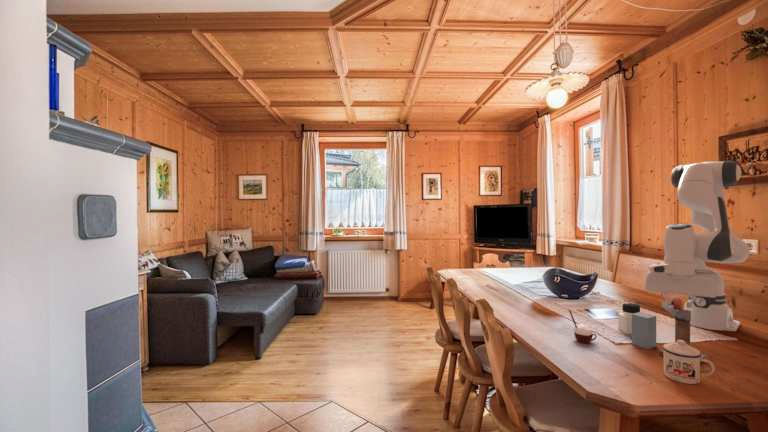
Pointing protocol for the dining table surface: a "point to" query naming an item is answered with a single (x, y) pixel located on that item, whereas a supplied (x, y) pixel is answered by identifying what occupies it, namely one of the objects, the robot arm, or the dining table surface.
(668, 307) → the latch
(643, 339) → the grey blue rectangular block
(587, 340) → the brown and white cup
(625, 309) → the medicine bottle
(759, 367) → the dining table surface
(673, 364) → the teacup with lid
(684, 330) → the post
